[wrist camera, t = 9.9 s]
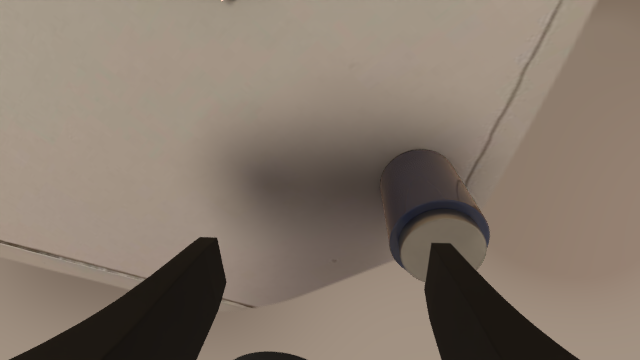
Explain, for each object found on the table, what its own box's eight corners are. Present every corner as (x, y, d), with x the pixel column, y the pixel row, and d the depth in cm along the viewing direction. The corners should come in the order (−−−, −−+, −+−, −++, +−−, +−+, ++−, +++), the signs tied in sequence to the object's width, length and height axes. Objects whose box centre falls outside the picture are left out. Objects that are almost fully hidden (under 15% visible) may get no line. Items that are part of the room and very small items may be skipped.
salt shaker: (449, 215, 21) (486, 292, 16) (378, 213, 22) (388, 289, 16) (461, 149, 19) (507, 211, 14) (381, 149, 20) (395, 209, 14)
